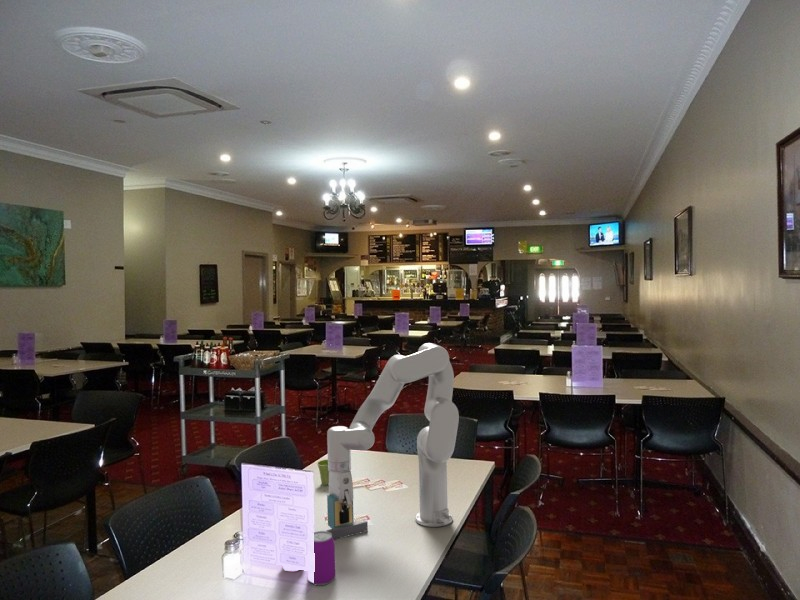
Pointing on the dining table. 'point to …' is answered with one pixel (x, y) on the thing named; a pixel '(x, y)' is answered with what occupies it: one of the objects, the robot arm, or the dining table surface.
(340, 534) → the rail
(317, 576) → the beverage can
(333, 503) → the tea box
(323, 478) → the plant pot
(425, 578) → the dining table surface
